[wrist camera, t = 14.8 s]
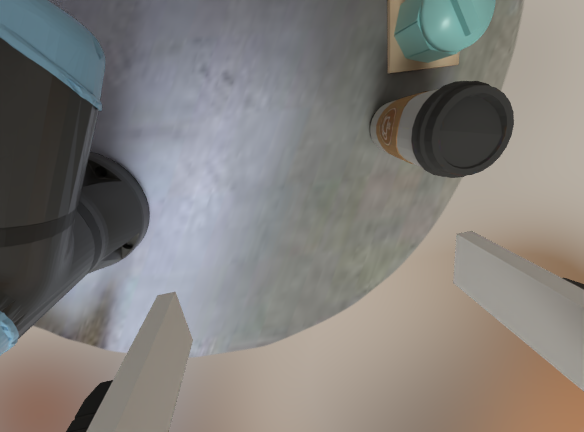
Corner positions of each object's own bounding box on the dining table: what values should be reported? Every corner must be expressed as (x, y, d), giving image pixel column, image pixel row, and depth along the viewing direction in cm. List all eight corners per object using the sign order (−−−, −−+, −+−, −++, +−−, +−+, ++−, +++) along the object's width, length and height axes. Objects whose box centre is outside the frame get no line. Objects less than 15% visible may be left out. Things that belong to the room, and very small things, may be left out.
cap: (384, 17, 32) (416, -7, 26) (438, -28, 31) (485, -64, 25) (413, 74, 35) (449, 64, 28) (464, 34, 34) (512, 15, 28)
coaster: (387, 73, 35) (389, 72, 34) (387, -14, 32) (389, -16, 31) (455, 65, 36) (458, 64, 35) (461, -21, 32) (465, -24, 32)
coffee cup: (366, 90, 35) (439, 72, 21) (427, 95, 36) (534, 82, 22) (356, 156, 38) (415, 179, 24) (413, 159, 39) (501, 183, 25)
